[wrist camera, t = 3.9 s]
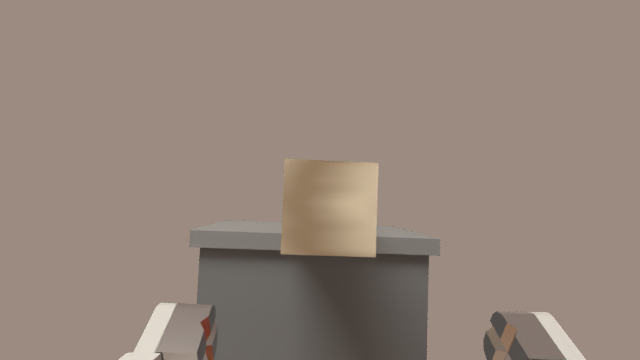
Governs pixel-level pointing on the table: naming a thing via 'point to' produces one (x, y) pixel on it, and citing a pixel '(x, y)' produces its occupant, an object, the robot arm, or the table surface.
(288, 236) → the tan wooden bar
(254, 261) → the tall grey block
